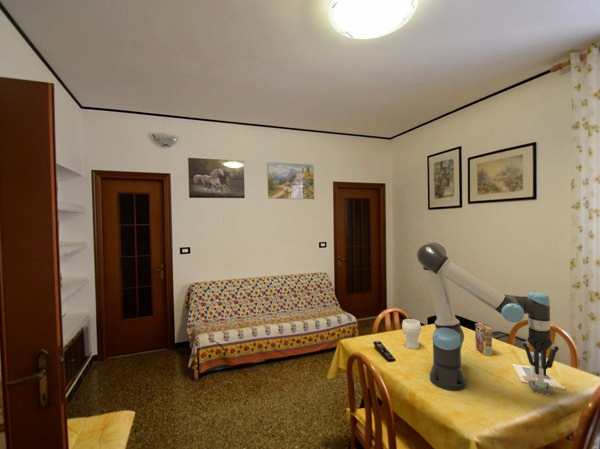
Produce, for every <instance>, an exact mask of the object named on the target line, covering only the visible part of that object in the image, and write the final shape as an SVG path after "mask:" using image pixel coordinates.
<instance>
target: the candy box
mask: <svg viewBox="0 0 600 449" xmlns="http://www.w3.org/2000/svg"><path fill="white" fill-rule="evenodd" d="M474 325H475V326H474V327H475V328H474V330H475V333H474V334H475V350H476V351H477V352H479V353H481V355H482V354H483V355H484V356H490V355H491V356H493V332H492V331H493V330H492V327H491V326H487V325H486V324H483V323H482V322H476V323H474Z"/></svg>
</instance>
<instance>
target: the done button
mask: <svg viewBox="0 0 600 449" xmlns="http://www.w3.org/2000/svg"><path fill="white" fill-rule="evenodd" d="M535 386H536V387H540V388H546V389H547V384H546V383H545V382H544V384H542V383H539V382H538V380H535Z"/></svg>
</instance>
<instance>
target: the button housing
mask: <svg viewBox="0 0 600 449" xmlns="http://www.w3.org/2000/svg"><path fill="white" fill-rule="evenodd" d="M546 384H547V389H546V388H540V387H536V386H535V381H533V380H529V384H528V385H530V386H529V388H530V389H531V391H532V390H533V391H532V392H533V393H535V392H537V393H536V394H540V393H543V394H542V395H546V394H549V395H548V396H552V395H555V392H554V388H552V387H550V385H549V384H548V383H546Z"/></svg>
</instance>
